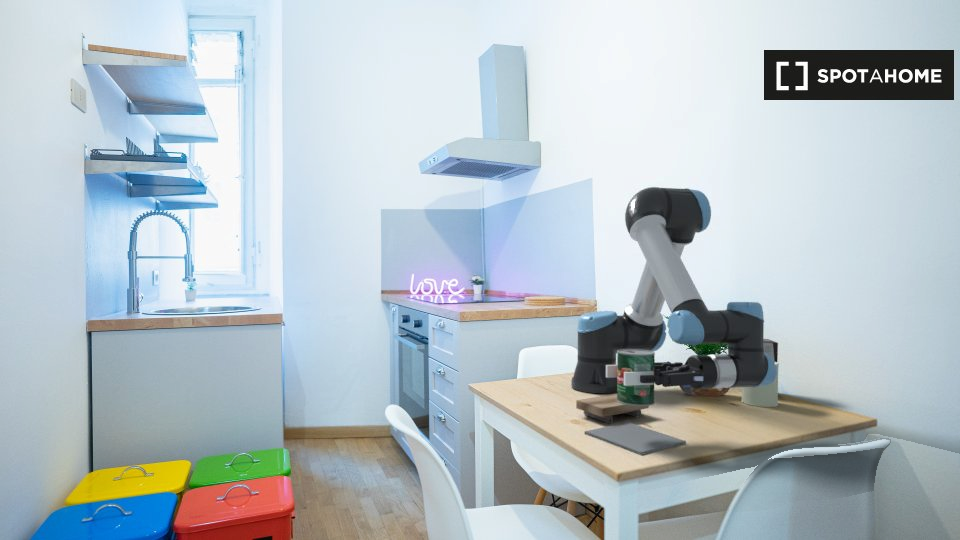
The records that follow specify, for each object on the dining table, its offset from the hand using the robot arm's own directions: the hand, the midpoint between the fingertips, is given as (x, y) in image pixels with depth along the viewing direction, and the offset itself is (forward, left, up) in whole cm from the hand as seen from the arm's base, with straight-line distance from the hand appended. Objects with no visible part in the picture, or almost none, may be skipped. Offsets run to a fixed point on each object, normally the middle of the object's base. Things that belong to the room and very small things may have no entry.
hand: (615, 375), depth 119 cm
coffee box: (-9, +71, -14) cm, 73 cm away
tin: (-17, +55, -14) cm, 59 cm away
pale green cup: (-3, +60, -14) cm, 61 cm away
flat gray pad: (+1, +5, -14) cm, 15 cm away
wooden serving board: (-14, +14, -14) cm, 24 cm away
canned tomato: (+2, +5, -6) cm, 8 cm away
